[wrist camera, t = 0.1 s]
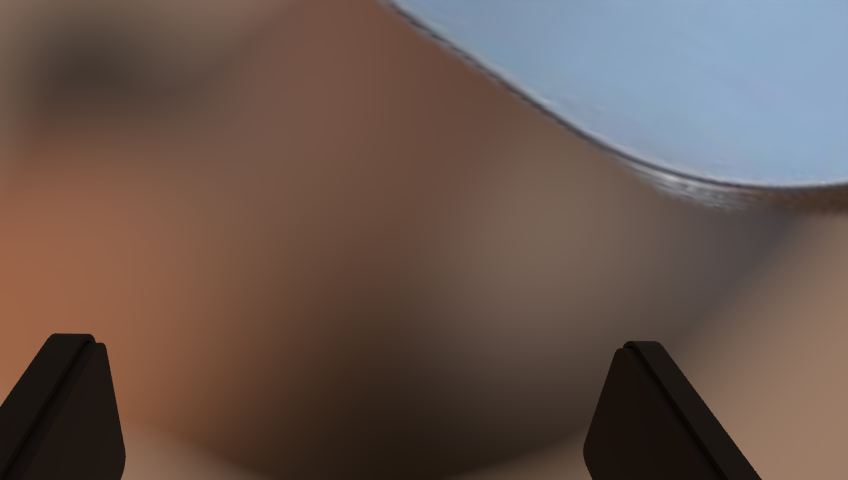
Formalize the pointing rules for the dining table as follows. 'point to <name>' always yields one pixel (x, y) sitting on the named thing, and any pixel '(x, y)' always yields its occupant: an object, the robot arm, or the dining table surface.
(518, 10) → the dining table surface
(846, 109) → the dining table surface
